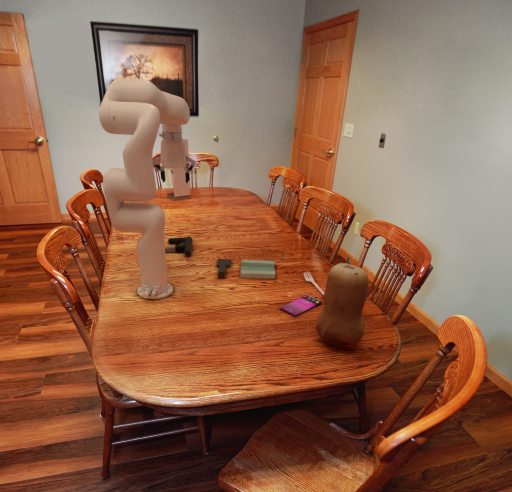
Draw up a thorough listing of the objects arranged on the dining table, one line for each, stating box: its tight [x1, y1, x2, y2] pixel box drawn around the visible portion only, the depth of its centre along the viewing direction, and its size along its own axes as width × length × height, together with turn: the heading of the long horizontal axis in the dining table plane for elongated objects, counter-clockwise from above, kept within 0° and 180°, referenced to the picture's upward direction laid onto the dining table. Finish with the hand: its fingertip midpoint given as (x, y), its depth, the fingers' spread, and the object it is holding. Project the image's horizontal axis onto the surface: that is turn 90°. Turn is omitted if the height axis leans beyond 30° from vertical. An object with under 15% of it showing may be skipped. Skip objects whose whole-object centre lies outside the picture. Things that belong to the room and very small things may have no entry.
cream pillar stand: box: [165, 137, 192, 201], centre depth 253 cm, size 11×11×35 cm
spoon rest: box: [239, 259, 276, 280], centre depth 165 cm, size 14×14×2 cm
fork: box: [303, 271, 325, 296], centre depth 155 cm, size 3×20×2 cm, turn 15°
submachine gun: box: [165, 235, 194, 257], centre depth 183 cm, size 3×20×16 cm
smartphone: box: [279, 293, 323, 317], centre depth 141 cm, size 7×15×1 cm, turn 134°
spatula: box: [216, 258, 232, 279], centre depth 165 cm, size 18×6×3 cm, turn 0°
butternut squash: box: [315, 262, 369, 348], centre depth 115 cm, size 14×13×25 cm
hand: (175, 182), depth 167 cm, fingers open, 9 cm apart
